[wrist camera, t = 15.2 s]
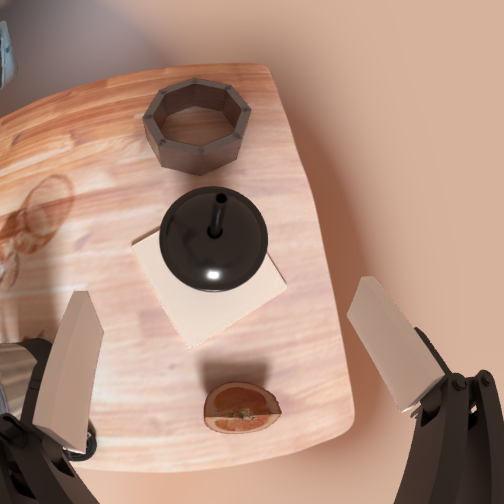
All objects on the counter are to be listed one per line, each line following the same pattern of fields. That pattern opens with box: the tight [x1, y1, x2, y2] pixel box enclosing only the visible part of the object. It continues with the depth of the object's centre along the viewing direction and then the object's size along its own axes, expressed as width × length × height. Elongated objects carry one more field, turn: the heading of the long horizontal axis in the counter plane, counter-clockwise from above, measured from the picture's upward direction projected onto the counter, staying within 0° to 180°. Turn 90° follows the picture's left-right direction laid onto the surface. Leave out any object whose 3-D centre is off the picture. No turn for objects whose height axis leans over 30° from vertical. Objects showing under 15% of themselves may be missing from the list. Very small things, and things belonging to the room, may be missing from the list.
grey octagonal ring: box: [142, 78, 252, 176], centre depth 34 cm, size 13×13×5 cm
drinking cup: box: [159, 186, 268, 293], centre depth 22 cm, size 8×8×20 cm
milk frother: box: [0, 338, 97, 462], centre depth 17 cm, size 14×16×15 cm
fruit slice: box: [204, 382, 282, 434], centre depth 27 cm, size 8×7×5 cm
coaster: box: [131, 230, 288, 350], centre depth 32 cm, size 14×14×1 cm
